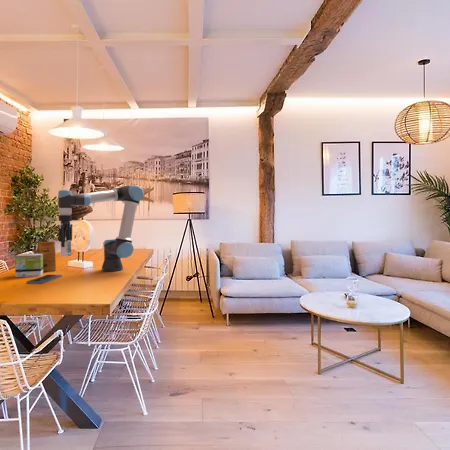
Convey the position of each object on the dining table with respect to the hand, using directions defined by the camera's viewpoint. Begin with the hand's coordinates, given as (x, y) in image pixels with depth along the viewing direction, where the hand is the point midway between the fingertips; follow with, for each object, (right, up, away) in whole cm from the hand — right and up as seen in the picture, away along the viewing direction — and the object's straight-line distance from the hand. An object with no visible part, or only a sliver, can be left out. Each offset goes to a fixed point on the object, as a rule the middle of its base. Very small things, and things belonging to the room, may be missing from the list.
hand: (65, 251), depth 202 cm
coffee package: (-31, -17, +33) cm, 49 cm away
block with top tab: (0, -3, 0) cm, 3 cm away
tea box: (-32, -18, +15) cm, 40 cm away
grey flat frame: (-14, -18, +1) cm, 23 cm away
